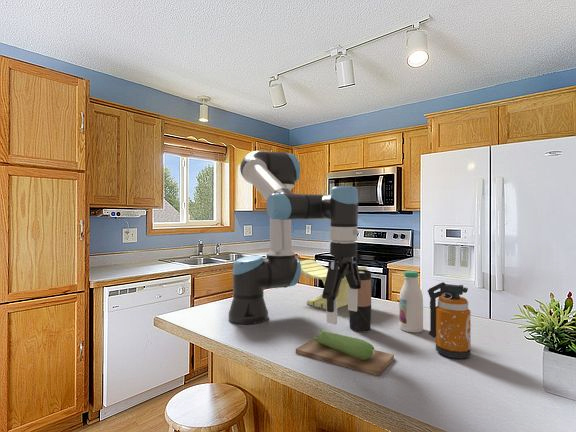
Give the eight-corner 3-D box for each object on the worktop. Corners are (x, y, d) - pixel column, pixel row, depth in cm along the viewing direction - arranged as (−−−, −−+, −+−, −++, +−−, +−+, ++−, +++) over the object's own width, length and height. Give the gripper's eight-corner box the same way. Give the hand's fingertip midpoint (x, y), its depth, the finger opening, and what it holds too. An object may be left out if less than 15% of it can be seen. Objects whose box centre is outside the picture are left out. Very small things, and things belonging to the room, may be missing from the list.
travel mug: (371, 333, 112) (371, 273, 112) (348, 331, 114) (348, 272, 114) (370, 325, 120) (370, 269, 120) (349, 324, 121) (349, 269, 121)
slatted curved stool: (368, 306, 144) (368, 265, 144) (346, 314, 133) (346, 269, 133) (315, 294, 166) (315, 258, 166) (292, 300, 155) (292, 262, 155)
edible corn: (366, 348, 86) (375, 339, 89) (308, 331, 100) (318, 323, 103) (370, 366, 86) (379, 356, 90) (312, 346, 101) (321, 338, 104)
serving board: (295, 353, 96) (295, 348, 96) (316, 340, 106) (316, 336, 106) (379, 376, 82) (379, 371, 82) (393, 358, 92) (393, 354, 92)
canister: (469, 363, 90) (469, 288, 90) (425, 353, 96) (425, 283, 95) (471, 351, 97) (471, 282, 97) (430, 343, 103) (430, 278, 103)
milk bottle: (423, 327, 118) (423, 270, 118) (422, 334, 111) (422, 274, 111) (400, 324, 121) (400, 269, 121) (398, 331, 114) (398, 272, 114)
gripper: (335, 246, 82) (334, 332, 82) (372, 239, 102) (371, 308, 103) (309, 244, 86) (308, 326, 87) (349, 237, 107) (348, 303, 107)
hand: (342, 316), depth 95 cm, fingers open, 13 cm apart
